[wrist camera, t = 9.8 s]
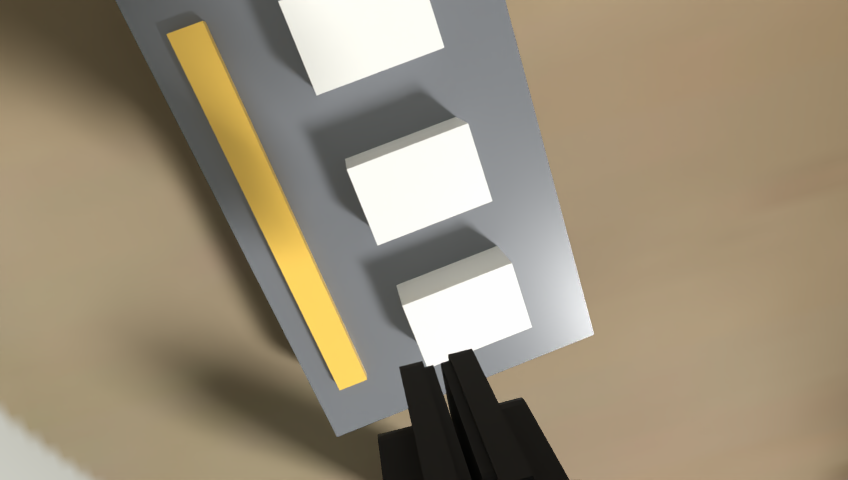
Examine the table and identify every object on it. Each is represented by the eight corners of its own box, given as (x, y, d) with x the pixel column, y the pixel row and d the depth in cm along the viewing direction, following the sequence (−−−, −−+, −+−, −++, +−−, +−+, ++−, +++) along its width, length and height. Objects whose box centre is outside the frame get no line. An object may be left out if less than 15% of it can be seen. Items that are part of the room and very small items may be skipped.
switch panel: (146, -15, 18) (71, -42, 13) (434, -120, 18) (476, -188, 13) (335, 375, 24) (337, 468, 18) (552, 290, 24) (615, 356, 19)
